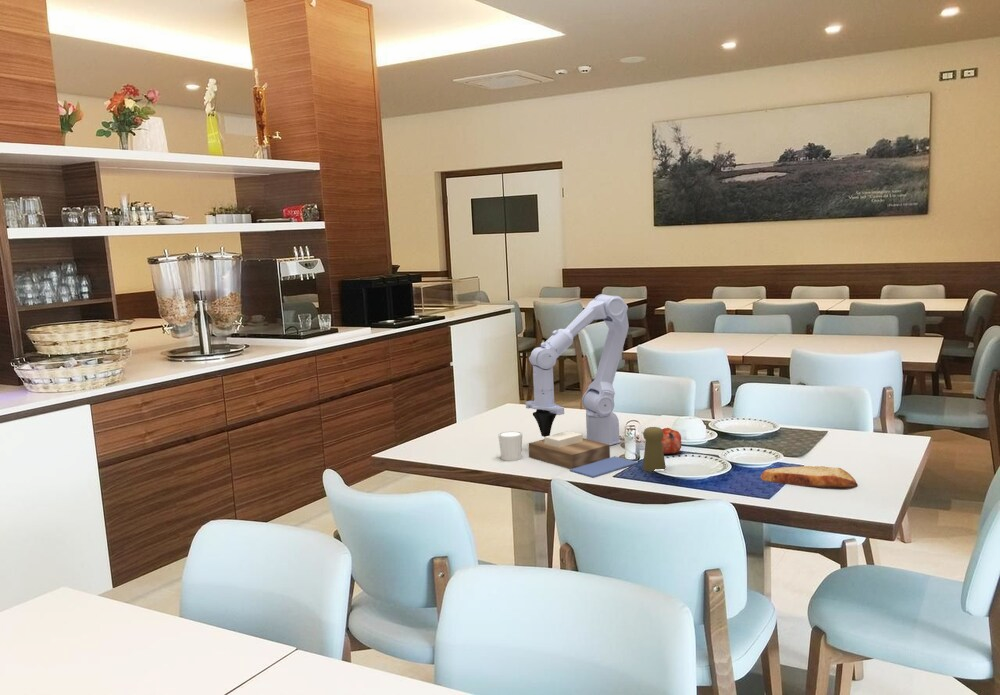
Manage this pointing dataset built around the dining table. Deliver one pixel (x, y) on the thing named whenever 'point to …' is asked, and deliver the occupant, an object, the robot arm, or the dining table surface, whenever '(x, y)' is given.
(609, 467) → the mat
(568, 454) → the brown wooden slab
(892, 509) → the dining table surface
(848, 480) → the bread slice
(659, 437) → the cork
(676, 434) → the pomegranate
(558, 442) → the block
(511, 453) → the white cup
